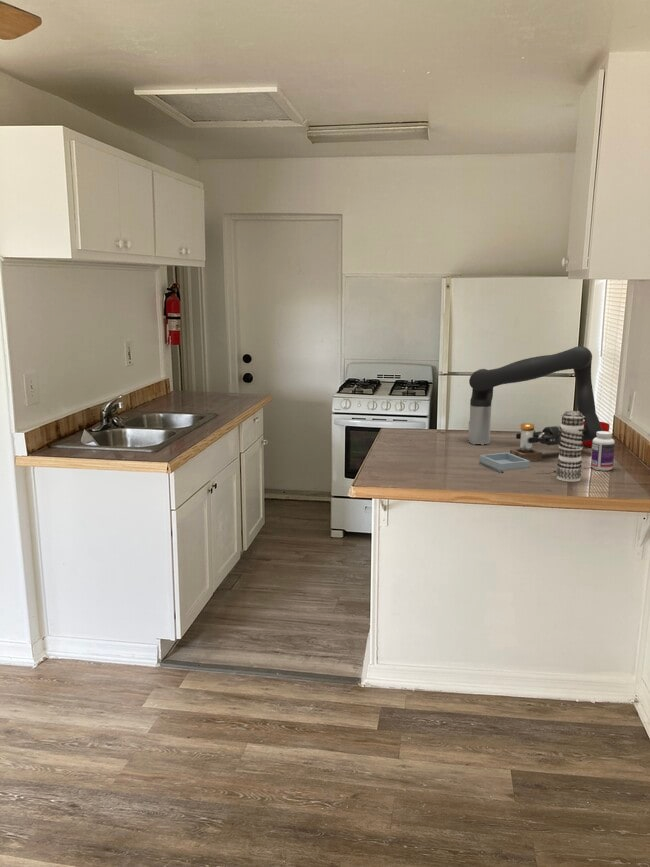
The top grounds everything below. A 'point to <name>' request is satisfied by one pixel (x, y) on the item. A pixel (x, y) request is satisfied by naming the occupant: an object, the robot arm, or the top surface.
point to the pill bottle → (602, 451)
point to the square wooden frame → (527, 455)
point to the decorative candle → (570, 446)
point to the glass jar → (526, 437)
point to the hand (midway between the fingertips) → (522, 438)
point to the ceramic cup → (604, 428)
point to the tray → (503, 462)
